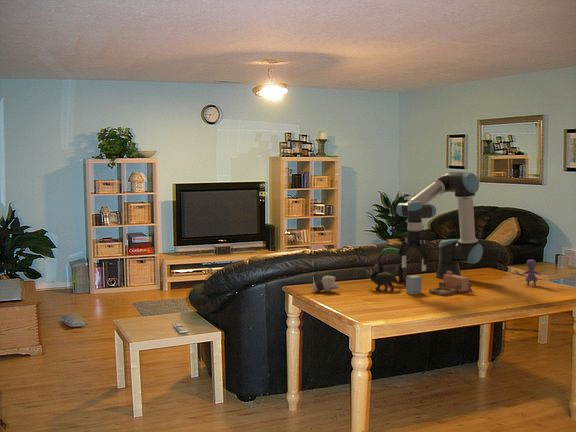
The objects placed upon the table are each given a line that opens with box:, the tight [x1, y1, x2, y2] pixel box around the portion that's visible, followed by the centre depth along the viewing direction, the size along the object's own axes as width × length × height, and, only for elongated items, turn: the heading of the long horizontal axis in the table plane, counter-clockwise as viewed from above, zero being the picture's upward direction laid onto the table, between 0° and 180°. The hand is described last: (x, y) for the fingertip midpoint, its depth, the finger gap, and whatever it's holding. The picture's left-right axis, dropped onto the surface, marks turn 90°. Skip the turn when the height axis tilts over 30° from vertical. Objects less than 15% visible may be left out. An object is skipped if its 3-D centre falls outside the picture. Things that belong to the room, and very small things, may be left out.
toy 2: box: [513, 258, 549, 287], centre depth 375 cm, size 18×6×15 cm, turn 84°
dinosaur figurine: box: [365, 267, 406, 292], centre depth 366 cm, size 22×8×11 cm, turn 71°
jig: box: [428, 281, 473, 297], centre depth 360 cm, size 14×22×4 cm, turn 130°
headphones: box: [374, 247, 408, 283], centre depth 390 cm, size 19×11×20 cm, turn 80°
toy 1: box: [310, 275, 340, 293], centre depth 362 cm, size 13×9×15 cm
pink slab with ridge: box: [442, 271, 469, 291], centre depth 363 cm, size 14×5×9 cm, turn 31°
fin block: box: [405, 274, 423, 295], centre depth 358 cm, size 5×7×9 cm
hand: (413, 269), depth 357 cm, fingers open, 13 cm apart
